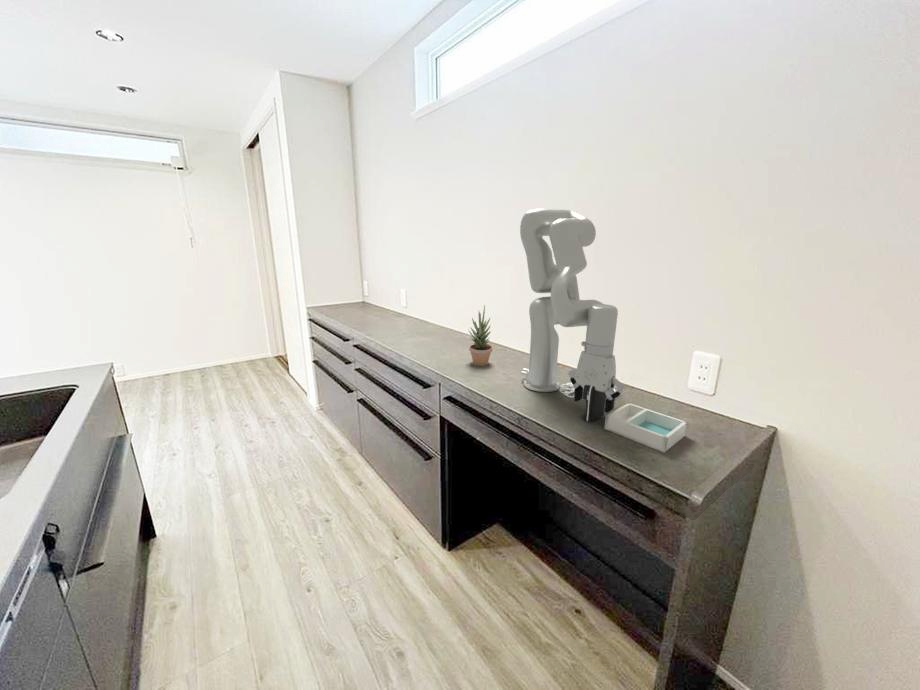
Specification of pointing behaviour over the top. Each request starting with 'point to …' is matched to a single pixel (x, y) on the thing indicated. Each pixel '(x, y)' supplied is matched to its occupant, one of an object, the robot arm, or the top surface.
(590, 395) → the battery charger
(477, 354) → the potted plant
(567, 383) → the tangled rod sculpture
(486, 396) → the top surface
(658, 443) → the divided compartment box
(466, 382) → the top surface
